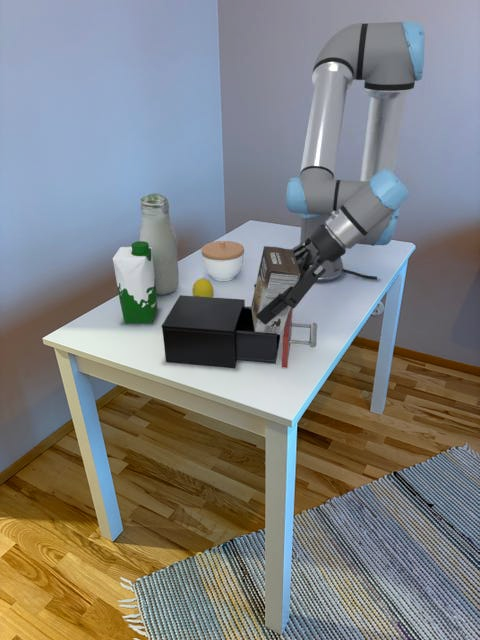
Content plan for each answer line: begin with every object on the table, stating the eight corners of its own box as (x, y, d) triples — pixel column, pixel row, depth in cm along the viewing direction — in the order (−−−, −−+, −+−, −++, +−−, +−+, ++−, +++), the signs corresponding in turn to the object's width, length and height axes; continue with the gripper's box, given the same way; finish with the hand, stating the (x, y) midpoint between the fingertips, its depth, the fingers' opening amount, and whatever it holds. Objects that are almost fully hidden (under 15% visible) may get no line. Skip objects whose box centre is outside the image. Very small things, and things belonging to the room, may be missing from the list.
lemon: (211, 310, 123) (209, 283, 119) (191, 308, 124) (189, 281, 120) (216, 300, 128) (215, 274, 124) (196, 299, 129) (195, 272, 125)
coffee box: (249, 307, 105) (263, 244, 95) (277, 309, 106) (293, 248, 96) (253, 333, 98) (268, 269, 88) (283, 335, 99) (301, 272, 89)
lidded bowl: (214, 265, 149) (213, 232, 143) (250, 271, 144) (250, 238, 138) (195, 280, 139) (192, 246, 133) (233, 288, 134) (232, 252, 129)
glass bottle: (144, 301, 128) (131, 200, 114) (147, 285, 137) (135, 189, 123) (180, 299, 129) (171, 199, 115) (181, 283, 138) (173, 188, 123)
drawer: (315, 337, 109) (318, 309, 105) (314, 370, 98) (316, 339, 94) (231, 331, 112) (230, 303, 108) (220, 362, 101) (219, 332, 97)
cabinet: (245, 334, 113) (244, 299, 108) (235, 368, 101) (234, 331, 96) (183, 329, 115) (179, 295, 110) (165, 362, 103) (161, 325, 98)
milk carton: (155, 325, 117) (145, 251, 107) (119, 325, 117) (107, 251, 107) (161, 308, 124) (153, 237, 114) (127, 308, 125) (116, 237, 115)
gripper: (314, 204, 101) (246, 268, 109) (334, 248, 80) (248, 323, 88) (336, 227, 104) (268, 288, 112) (361, 275, 83) (275, 346, 91)
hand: (259, 304), depth 100 cm, fingers open, 13 cm apart
